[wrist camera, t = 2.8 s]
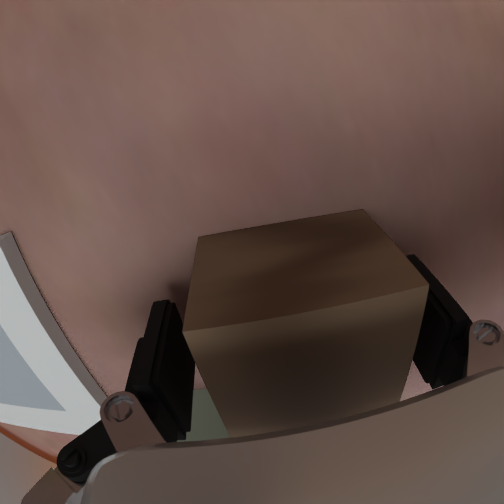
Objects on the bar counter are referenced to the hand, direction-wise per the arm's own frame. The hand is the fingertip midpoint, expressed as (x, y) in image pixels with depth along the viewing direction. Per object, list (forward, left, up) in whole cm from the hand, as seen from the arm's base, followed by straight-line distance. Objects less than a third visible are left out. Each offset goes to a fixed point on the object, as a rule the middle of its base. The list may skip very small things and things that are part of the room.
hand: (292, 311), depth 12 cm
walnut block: (0, 0, -1) cm, 1 cm away
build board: (+18, +2, -1) cm, 18 cm away
